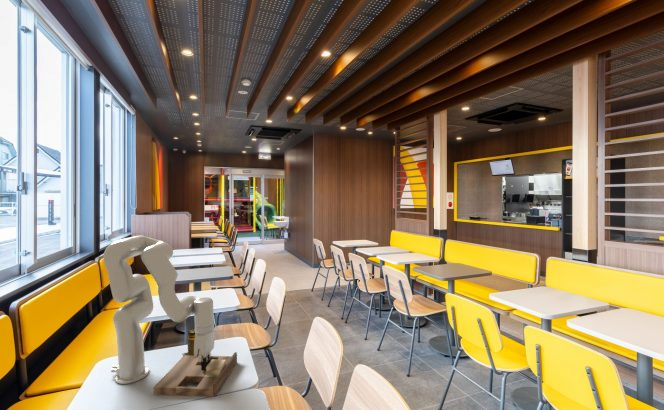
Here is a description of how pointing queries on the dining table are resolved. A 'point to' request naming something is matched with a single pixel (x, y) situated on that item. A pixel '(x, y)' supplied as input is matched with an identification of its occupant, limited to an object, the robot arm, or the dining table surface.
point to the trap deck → (194, 378)
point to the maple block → (215, 367)
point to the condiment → (190, 342)
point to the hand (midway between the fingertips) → (205, 369)
